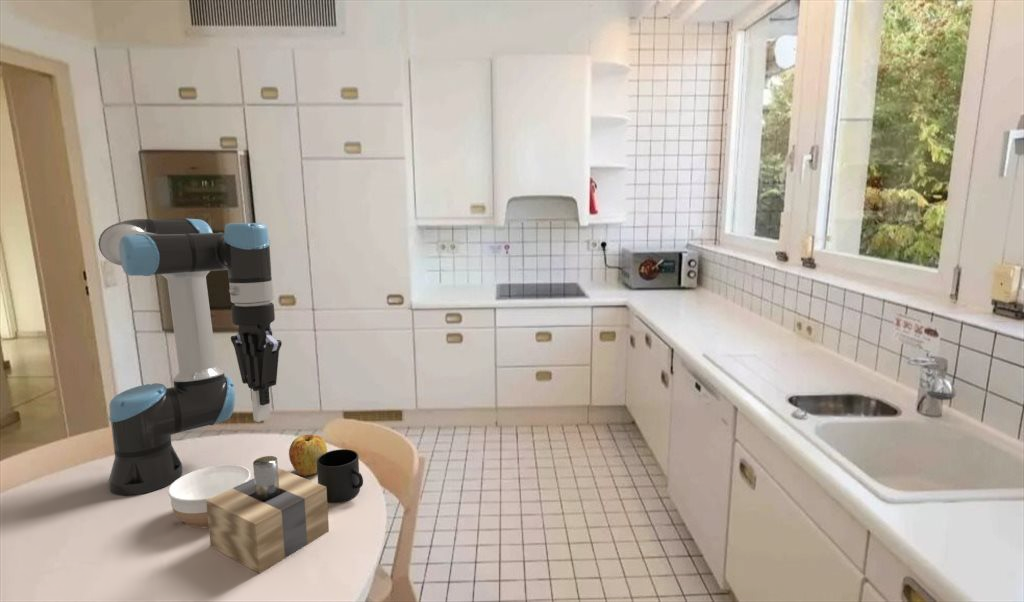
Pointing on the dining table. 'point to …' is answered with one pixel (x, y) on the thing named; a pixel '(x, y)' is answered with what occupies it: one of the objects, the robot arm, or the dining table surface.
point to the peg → (266, 478)
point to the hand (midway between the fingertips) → (262, 419)
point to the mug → (339, 474)
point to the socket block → (267, 521)
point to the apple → (306, 453)
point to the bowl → (203, 491)
